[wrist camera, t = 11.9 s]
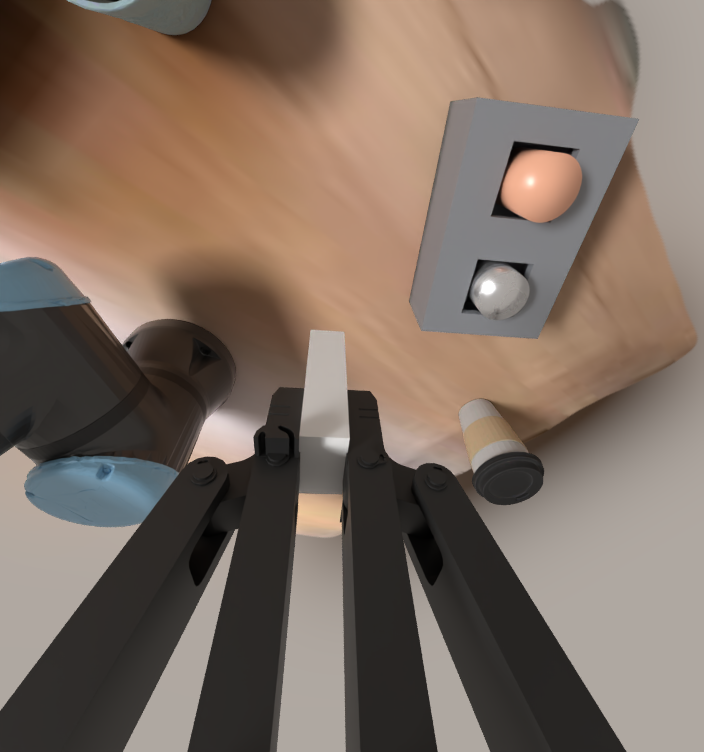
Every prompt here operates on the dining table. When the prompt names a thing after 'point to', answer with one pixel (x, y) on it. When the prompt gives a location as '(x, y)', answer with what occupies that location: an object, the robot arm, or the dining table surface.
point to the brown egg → (539, 183)
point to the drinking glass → (153, 13)
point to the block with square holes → (506, 210)
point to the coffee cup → (498, 456)
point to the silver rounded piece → (497, 289)
